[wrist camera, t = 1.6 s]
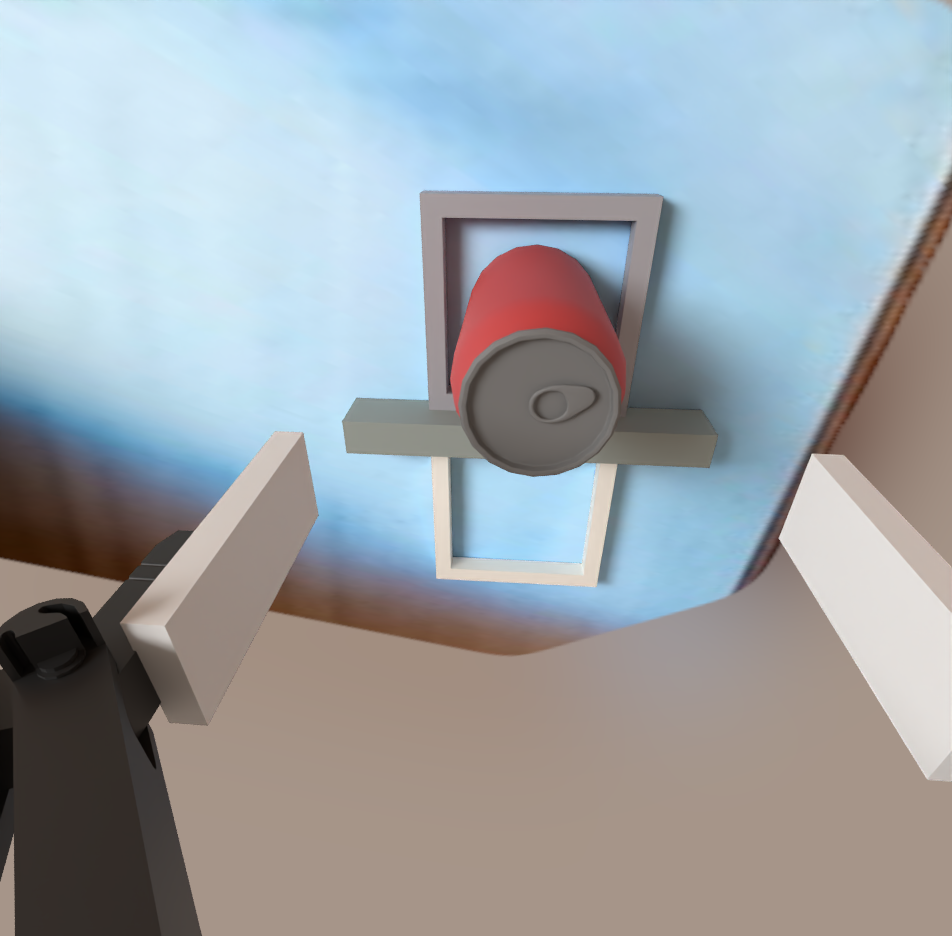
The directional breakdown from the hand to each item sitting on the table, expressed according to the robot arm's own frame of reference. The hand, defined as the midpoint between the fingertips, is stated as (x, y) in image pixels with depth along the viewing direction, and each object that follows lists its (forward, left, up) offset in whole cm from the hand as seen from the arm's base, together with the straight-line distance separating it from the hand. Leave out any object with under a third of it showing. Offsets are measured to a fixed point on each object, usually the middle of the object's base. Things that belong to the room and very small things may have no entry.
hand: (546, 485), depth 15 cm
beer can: (0, 0, -17) cm, 17 cm away
